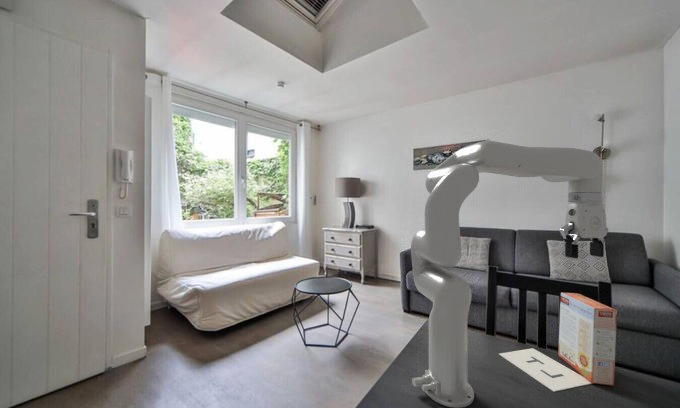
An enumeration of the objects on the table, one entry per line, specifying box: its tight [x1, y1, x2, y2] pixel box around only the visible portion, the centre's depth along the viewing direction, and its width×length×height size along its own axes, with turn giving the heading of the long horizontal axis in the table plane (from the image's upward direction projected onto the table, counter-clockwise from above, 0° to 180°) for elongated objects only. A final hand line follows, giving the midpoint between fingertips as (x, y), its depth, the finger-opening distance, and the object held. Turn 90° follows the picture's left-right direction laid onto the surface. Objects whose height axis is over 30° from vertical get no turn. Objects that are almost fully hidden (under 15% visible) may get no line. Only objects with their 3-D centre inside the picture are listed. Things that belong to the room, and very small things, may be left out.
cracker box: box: [557, 292, 618, 387], centre depth 80 cm, size 14×6×21 cm, turn 171°
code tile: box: [498, 347, 594, 392], centre depth 81 cm, size 14×18×1 cm
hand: (584, 256), depth 80 cm, fingers open, 9 cm apart
